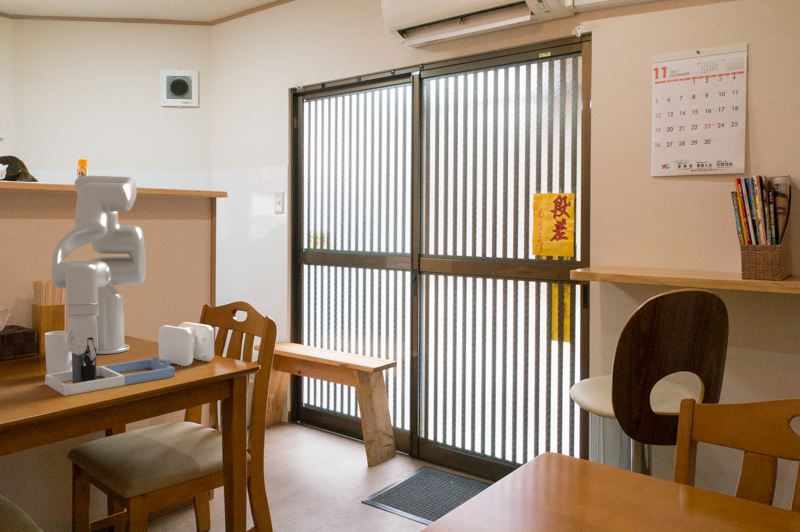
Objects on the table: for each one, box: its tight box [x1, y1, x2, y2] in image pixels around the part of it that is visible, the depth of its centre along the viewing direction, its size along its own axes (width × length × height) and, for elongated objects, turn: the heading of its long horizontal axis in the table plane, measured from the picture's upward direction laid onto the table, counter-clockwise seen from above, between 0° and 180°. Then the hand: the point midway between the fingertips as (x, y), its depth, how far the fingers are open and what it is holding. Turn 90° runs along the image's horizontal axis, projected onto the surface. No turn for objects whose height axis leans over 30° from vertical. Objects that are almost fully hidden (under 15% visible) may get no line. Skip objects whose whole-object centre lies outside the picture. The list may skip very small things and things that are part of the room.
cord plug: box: [72, 351, 98, 384], centre depth 162 cm, size 4×4×12 cm
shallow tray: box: [44, 354, 176, 397], centre depth 168 cm, size 16×28×4 cm, turn 136°
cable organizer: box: [157, 321, 215, 367], centre depth 190 cm, size 15×11×12 cm
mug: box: [44, 330, 72, 375], centre depth 173 cm, size 10×7×12 cm, turn 100°
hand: (84, 377), depth 163 cm, fingers closed on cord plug, 4 cm apart
